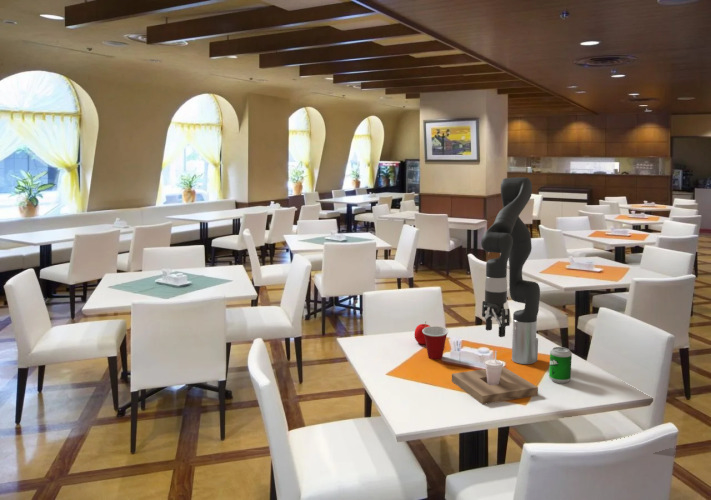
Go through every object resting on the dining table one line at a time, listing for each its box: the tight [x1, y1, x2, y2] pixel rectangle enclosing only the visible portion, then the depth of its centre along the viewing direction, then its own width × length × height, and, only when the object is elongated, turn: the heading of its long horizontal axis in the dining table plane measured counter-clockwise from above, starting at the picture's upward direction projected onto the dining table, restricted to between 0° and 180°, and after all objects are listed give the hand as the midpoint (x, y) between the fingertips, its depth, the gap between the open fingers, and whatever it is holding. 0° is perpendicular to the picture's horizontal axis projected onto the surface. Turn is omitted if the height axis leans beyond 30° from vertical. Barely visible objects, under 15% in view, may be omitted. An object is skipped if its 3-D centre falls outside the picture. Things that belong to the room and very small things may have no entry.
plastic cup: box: [422, 325, 449, 360], centre depth 247 cm, size 11×11×12 cm
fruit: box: [414, 321, 431, 346], centre depth 266 cm, size 9×9×10 cm
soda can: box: [548, 346, 573, 384], centre depth 221 cm, size 8×8×12 cm
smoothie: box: [484, 350, 504, 385], centre depth 214 cm, size 6×6×14 cm
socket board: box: [451, 366, 539, 405], centre depth 215 cm, size 22×22×3 cm
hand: (495, 333), depth 212 cm, fingers open, 8 cm apart
